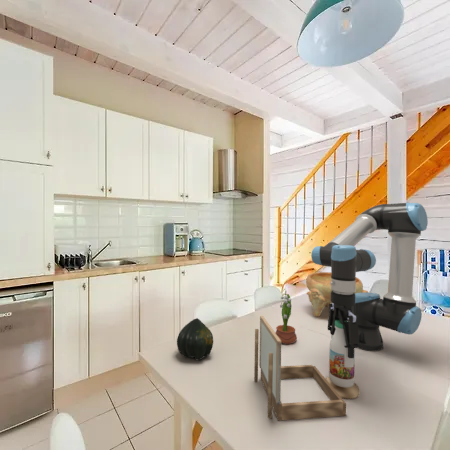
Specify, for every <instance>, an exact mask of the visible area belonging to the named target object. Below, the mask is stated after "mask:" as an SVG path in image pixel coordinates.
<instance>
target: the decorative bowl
mask: <svg viewBox="0 0 450 450" xmlns="http://www.w3.org/2000/svg"><path fill="white" fill-rule="evenodd" d="M330 282H331V272H325V271H323V272H322V271H321V272H313V273H310V274H308V276H307V277H306V280H305V284H306V288H307V290H308V291H307V292H306V295H308V300H309V303H310V304H311V307H312V310H313V311H312V314H313V316H314V317H315V318H318V317H320V316H321V314H322V312H323V310H324V309H325V308H329V303H332V302H331V291H333V290H332V289H331V284H330ZM355 293H370V292H369V291H368V290H366V289H364V286H363V282H362V280H361V279H360V278H359V277H356V292H354V294H355Z"/></svg>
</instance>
